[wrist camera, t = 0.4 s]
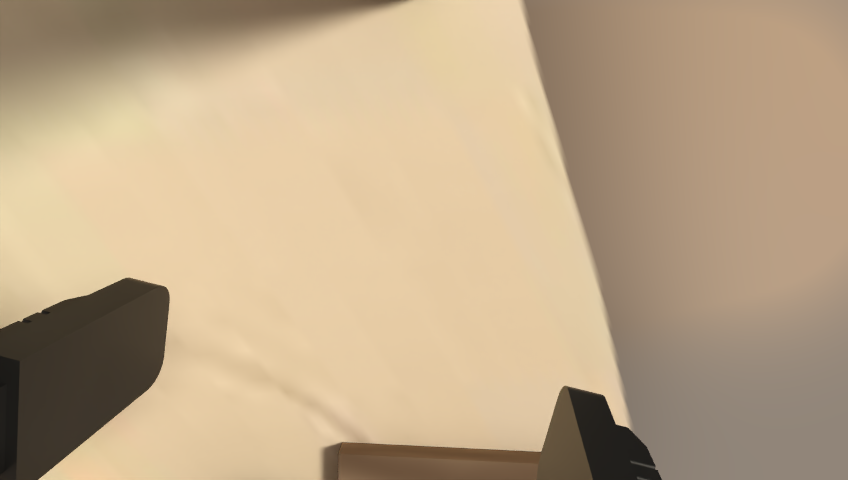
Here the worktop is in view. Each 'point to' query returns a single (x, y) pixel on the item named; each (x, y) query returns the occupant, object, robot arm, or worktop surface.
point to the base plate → (433, 463)
